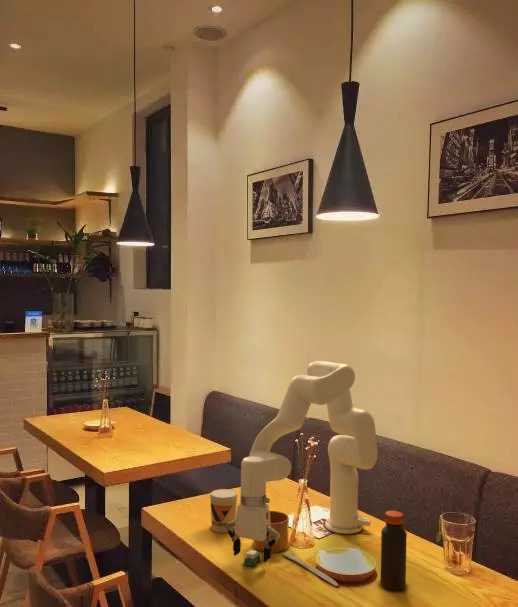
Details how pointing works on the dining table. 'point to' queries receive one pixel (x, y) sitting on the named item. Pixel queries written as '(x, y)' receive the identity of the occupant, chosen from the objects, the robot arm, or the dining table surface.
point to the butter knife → (310, 568)
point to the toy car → (252, 558)
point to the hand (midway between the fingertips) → (251, 557)
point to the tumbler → (281, 526)
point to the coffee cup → (223, 509)
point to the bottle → (393, 552)
